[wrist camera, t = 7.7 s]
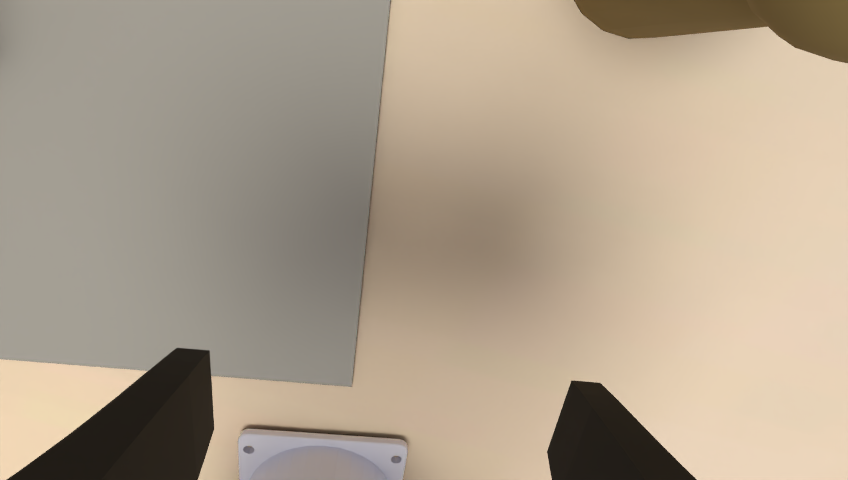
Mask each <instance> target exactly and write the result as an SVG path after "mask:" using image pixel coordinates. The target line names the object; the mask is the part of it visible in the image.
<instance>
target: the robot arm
mask: <svg viewBox="0 0 848 480" xmlns="http://www.w3.org/2000/svg"><path fill="white" fill-rule="evenodd" d="M213 430H214V419H213V401H212V383H211V365H210V350H199V349H187V348H176V349H175V350H173V351H172V352H171V353H169V354H168V355H167V356H166V357H164V358H163V359H162V360H161V361H159V362H158V363H157V364H156V365H155V366H153V367H152V368H151V369H150V370H149V371H148V372H146V373H145V374H144V375H143V376H142V377H140V378H139V379H138V380H137V381H136V382H134V383H133V384H132V385H131V386H129V387H128V388H127V389H126V390H125V391H123V392H122V393H121V394H120V395H119V396H117V397H116V398H115V399H114V400H112V401H111V402H110V403H109V404H107V405H106V406H105V407H104V408H102V409H101V410H100V411H99V412H97V413H96V414H95V415H94V416H92V417H91V418H90V419H88V420H87V421H86V422H85V423H83V424H82V425H81V426H80V427H78V428H77V429H76V430H74V431H73V432H72V433H71V434H69V435H68V436H67V437H65V438H64V439H62V440H61V441H60V442H58V443H57V444H56V445H54V446H53V447H52V448H50V449H49V450H47V451H46V452H45V453H43V454H42V455H41V456H39V457H38V458H37V459H35V460H34V461H32V462H31V463H30V464H28V465H27V466H26V467H24V468H23V469H22V470H20V471H19V472H17V473H16V474H14V475H13V476H11V477H10V478H9V479H7V480H198V477H199V474H200V471H201V468H202V465H203V462H204V459H205V456H206V453H207V449H208V446H209V443H210V440H211V437H212V434H213ZM248 446H251V447H248ZM407 453H408V446H407V443H406V442H405V441H403V440H401V439H391V438H377V437H363V436H348V435H334V434H320V433H305V432H291V431H277V430H262V429H245V430H243V431H242V432H241V433H240V436H239V439H238V458H239V480H403V476H404V470H405V465H406V459H407ZM547 453H548V459H549V465H550V471H551V476H552V480H696V479H695V478H694V477H693V476H692V475H691V474H690V473H689V472H688V471H687V470H686V469H685V468H684V467H683V466H682V465H681V464H680V463H679V462H678V461H677V460H676V459H675V458H674V457H673V456H672V455H671V454H670V453H669V452H668V451H667V450H666V449H665V448H664V447H663V446H662V445H661V444H660V443H659V442H658V441H657V440H656V439H655V438H654V437H653V436H652V435H651V434H650V433H649V432H648V431H647V430H646V429H645V428H644V427H643V426H642V425H641V424H640V423H639V422H638V420H637V419H636V418H635V417H634V416H633V415H632V414H631V413H630V412H629V411H628V410H627V409H626V408H625V407H624V406H623V405H622V404H621V403H620V402H619V401H618V400H617V399H616V398H615V397H614V396H613V395H612V394H611V393H610V392H609V391H608V390H607V389H606V388H605V387H604V386H603V385H602V384H601V383H594V382H582V381H571V384H570V387H569V390H568V393H567V396H566V398H565V401H564V404H563V407H562V410H561V413H560V416H559V419H558V422H557V425H556V428H555V431H554V433H553V436H552V439H551V442H550V445H549V448H548V451H547ZM395 456H398V457H395Z"/></svg>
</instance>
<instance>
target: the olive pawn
mask: <svg viewBox="0 0 848 480" xmlns="http://www.w3.org/2000/svg"><path fill="white" fill-rule="evenodd" d="M574 1H575V3H576V4H577V6H578V8H579V9H580V11H581V13H582V14H583V15H584V16H586V17H587V18H588V19H589V20H591V21H592V22H593V23H594V24H596V25H597V26H598V27H599V28H600V29H602V30H603V31H606V32H609V33H612V34H615V35H619V36H622V37H625V38H628V39H632V38H653V37H665V36H675V35H686V34H696V33H706V32H716V31H727V30H737V29H747V28H758V27H769V28H770V29H771V30H772V31H774V32H775V33H776V34H777V35H778V36H779V37H781V38H782V39H783V40H785V41H786V42H788V43H789V44H791V45H792V46H794V47H795V48H798V49H801V50H804V51H807V52H810V53H813V54H816V55H819V56H822V57H825V58H828V59H831V60H834V61H839V62H844V63H848V0H574Z"/></svg>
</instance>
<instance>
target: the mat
mask: <svg viewBox="0 0 848 480" xmlns="http://www.w3.org/2000/svg"><path fill="white" fill-rule="evenodd" d="M389 9H390V0H0V359H6V360H18V361H31V362H44V363H56V364H69V365H82V366H94V367H107V368H120V369H132V370H145V371H149V370H150V369H151V368H152V367H153V366H155V365H156V364H157V363H158V362H159V361H161V360H162V359H163V358H164V357H166V356H167V355H168V354H169V353H171V352H172V351H173V350H175V349H176V348H187V349H199V350H210V365H211V376H221V377H234V378H246V379H259V380H272V381H284V382H297V383H310V384H322V385H335V386H348V387H352V378H353V368H354V358H355V348H356V338H357V328H358V318H359V308H360V298H361V288H362V278H363V268H364V258H365V248H366V238H367V228H368V218H369V208H370V198H371V188H372V178H373V168H374V158H375V148H376V138H377V128H378V119H379V109H380V99H381V89H382V79H383V69H384V59H385V49H386V39H387V29H388V19H389Z"/></svg>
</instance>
